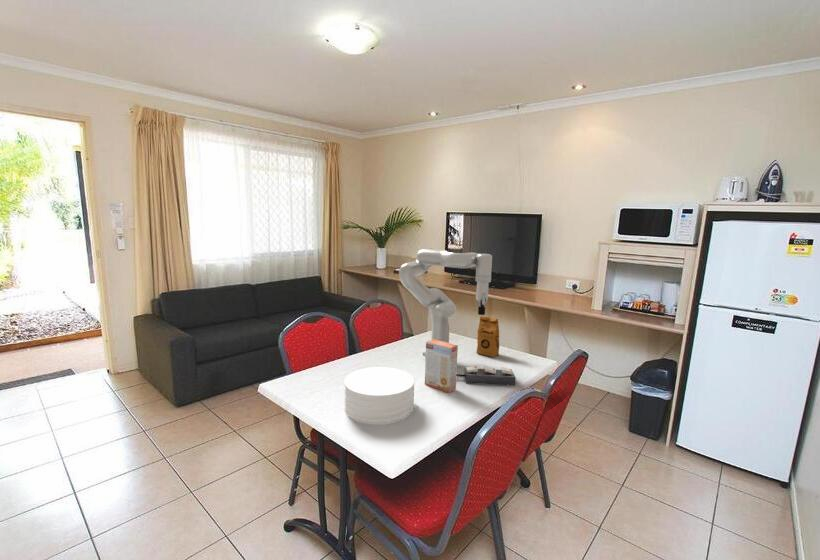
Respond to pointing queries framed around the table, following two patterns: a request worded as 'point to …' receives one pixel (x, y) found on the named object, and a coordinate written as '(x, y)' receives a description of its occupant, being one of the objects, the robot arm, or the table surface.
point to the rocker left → (472, 369)
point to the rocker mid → (490, 370)
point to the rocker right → (507, 370)
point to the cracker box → (441, 365)
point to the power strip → (488, 377)
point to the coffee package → (488, 336)
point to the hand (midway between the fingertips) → (481, 314)
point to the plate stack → (379, 395)
